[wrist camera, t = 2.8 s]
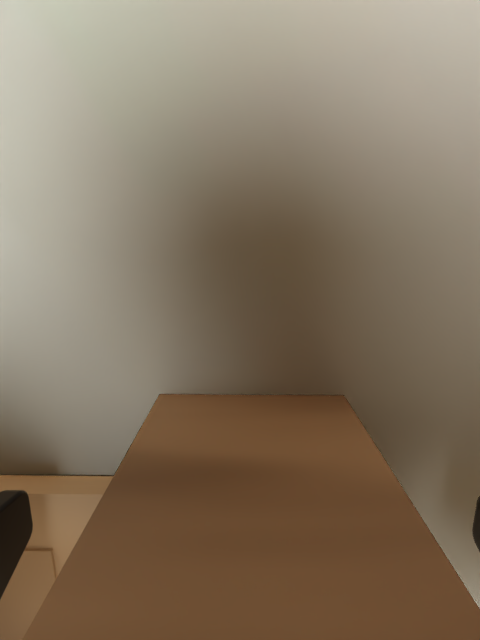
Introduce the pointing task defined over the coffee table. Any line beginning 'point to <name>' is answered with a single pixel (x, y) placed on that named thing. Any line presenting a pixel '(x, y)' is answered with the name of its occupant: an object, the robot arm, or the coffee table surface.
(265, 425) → the walnut block
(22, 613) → the cork pad
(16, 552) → the robot arm
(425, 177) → the coffee table surface
